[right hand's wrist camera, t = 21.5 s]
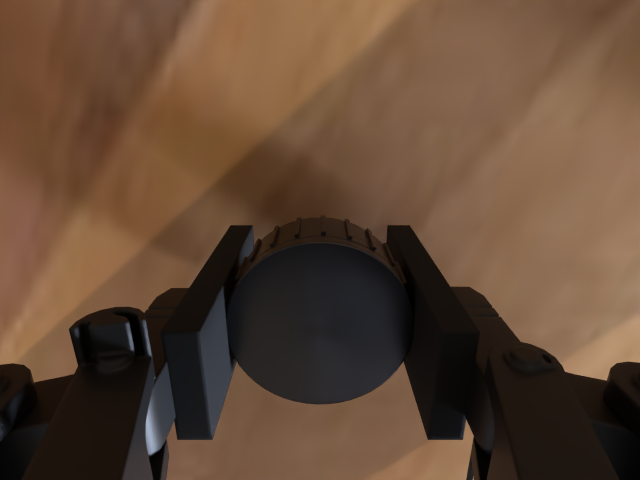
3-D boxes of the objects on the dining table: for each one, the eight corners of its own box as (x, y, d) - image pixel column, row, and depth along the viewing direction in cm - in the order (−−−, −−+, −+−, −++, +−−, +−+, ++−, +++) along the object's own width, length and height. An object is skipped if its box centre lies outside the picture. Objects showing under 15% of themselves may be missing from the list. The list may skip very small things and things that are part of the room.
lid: (233, 210, 11) (216, 234, 9) (411, 216, 11) (429, 241, 9) (240, 359, 13) (226, 404, 11) (394, 363, 13) (406, 409, 11)
